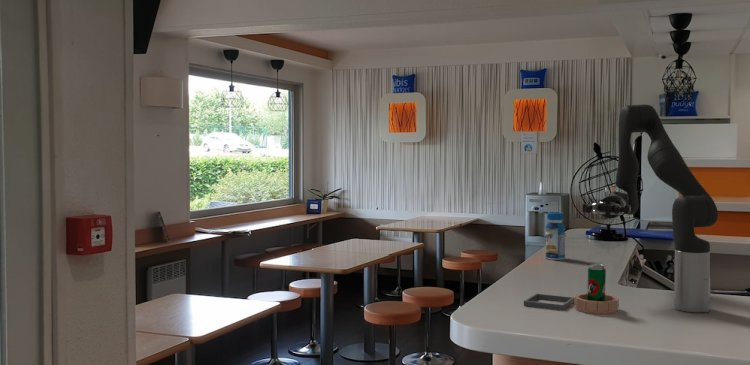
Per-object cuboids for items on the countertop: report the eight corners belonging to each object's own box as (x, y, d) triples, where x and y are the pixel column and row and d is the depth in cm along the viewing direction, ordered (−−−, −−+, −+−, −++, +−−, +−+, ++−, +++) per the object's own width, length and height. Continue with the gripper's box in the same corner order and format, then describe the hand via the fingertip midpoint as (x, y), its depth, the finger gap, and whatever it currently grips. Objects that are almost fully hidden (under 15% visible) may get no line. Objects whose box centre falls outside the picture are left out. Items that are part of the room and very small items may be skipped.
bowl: (621, 307, 198) (622, 295, 198) (613, 316, 188) (613, 303, 188) (580, 303, 204) (581, 291, 204) (570, 311, 194) (570, 299, 194)
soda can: (606, 308, 193) (607, 266, 193) (588, 307, 194) (589, 266, 194) (603, 304, 198) (604, 264, 198) (586, 303, 199) (586, 263, 199)
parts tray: (574, 302, 205) (574, 297, 205) (563, 310, 195) (563, 305, 195) (536, 298, 212) (536, 293, 211) (523, 305, 201) (523, 300, 201)
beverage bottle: (567, 260, 284) (567, 213, 283) (547, 260, 284) (547, 213, 283) (562, 257, 292) (562, 211, 291) (543, 257, 292) (543, 211, 292)
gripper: (590, 194, 226) (578, 197, 212) (635, 195, 218) (625, 198, 204) (590, 216, 226) (578, 221, 212) (635, 218, 219) (625, 223, 205)
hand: (601, 210), depth 208 cm, fingers open, 8 cm apart
